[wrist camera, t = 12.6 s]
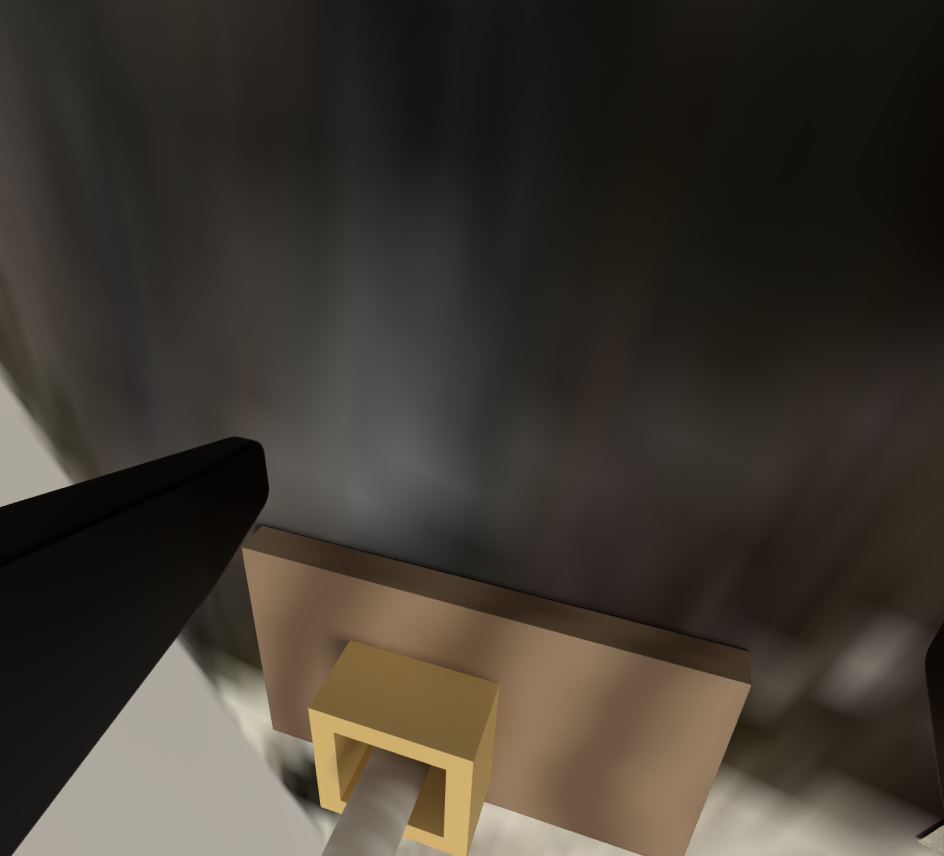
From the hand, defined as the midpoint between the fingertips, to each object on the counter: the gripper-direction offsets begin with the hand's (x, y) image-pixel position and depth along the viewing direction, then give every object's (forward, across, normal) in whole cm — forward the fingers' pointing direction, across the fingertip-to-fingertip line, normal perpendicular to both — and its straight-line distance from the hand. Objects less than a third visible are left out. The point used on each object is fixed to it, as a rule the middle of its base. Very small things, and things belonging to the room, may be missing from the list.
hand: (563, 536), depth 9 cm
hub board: (+12, +4, +19) cm, 23 cm away
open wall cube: (+10, +6, +20) cm, 23 cm away
